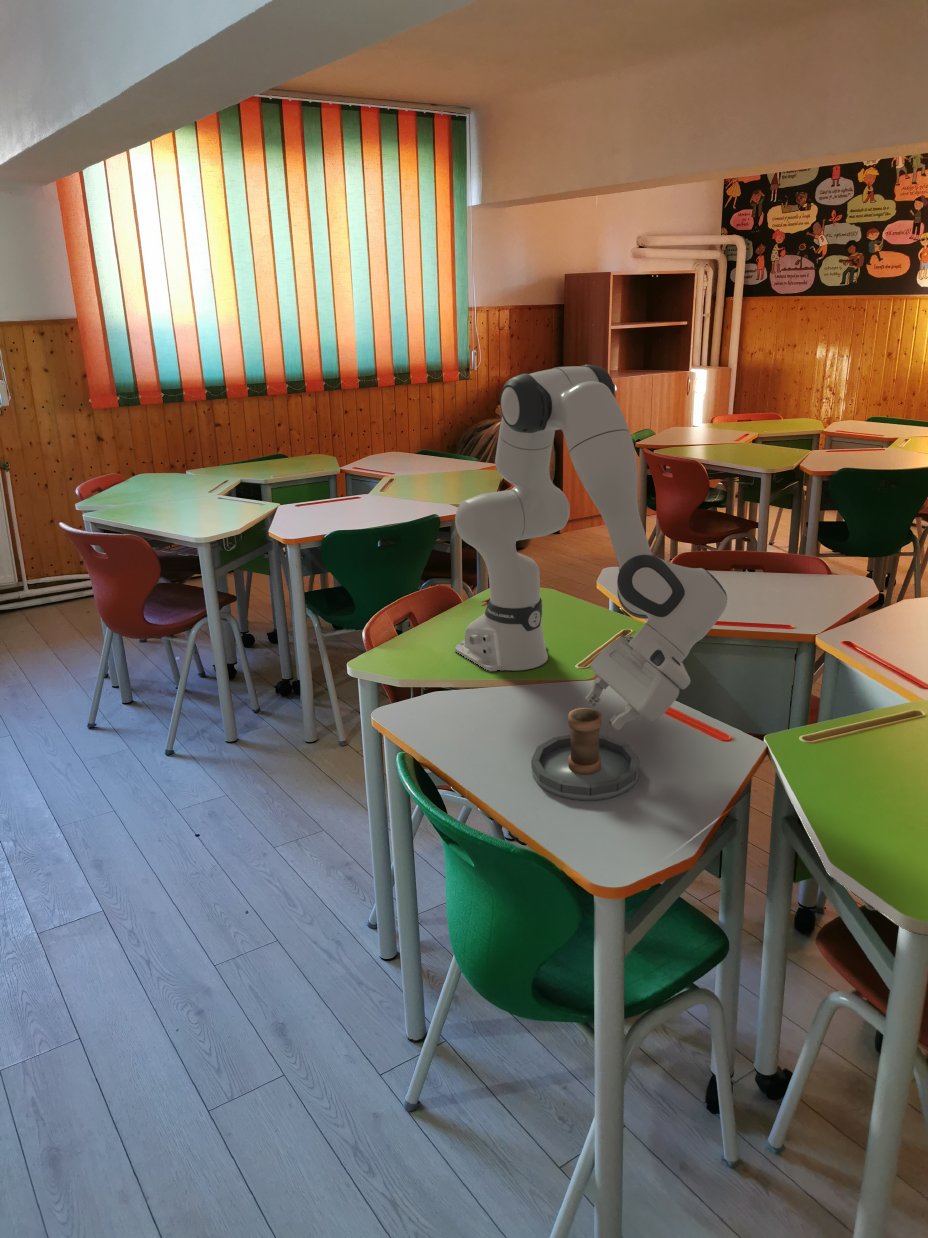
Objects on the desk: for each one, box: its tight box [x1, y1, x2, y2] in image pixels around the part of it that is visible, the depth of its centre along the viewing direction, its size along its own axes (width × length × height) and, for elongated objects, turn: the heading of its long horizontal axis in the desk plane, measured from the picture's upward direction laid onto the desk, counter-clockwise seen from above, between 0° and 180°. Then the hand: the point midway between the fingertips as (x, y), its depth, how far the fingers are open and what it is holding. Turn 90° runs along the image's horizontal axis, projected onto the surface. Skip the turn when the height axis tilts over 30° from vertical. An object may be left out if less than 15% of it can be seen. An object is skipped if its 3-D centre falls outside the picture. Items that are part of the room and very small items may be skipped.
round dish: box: [531, 734, 640, 802], centre depth 154 cm, size 18×18×2 cm
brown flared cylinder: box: [567, 707, 603, 775], centre depth 153 cm, size 6×6×10 cm
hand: (600, 714), depth 152 cm, fingers open, 8 cm apart
